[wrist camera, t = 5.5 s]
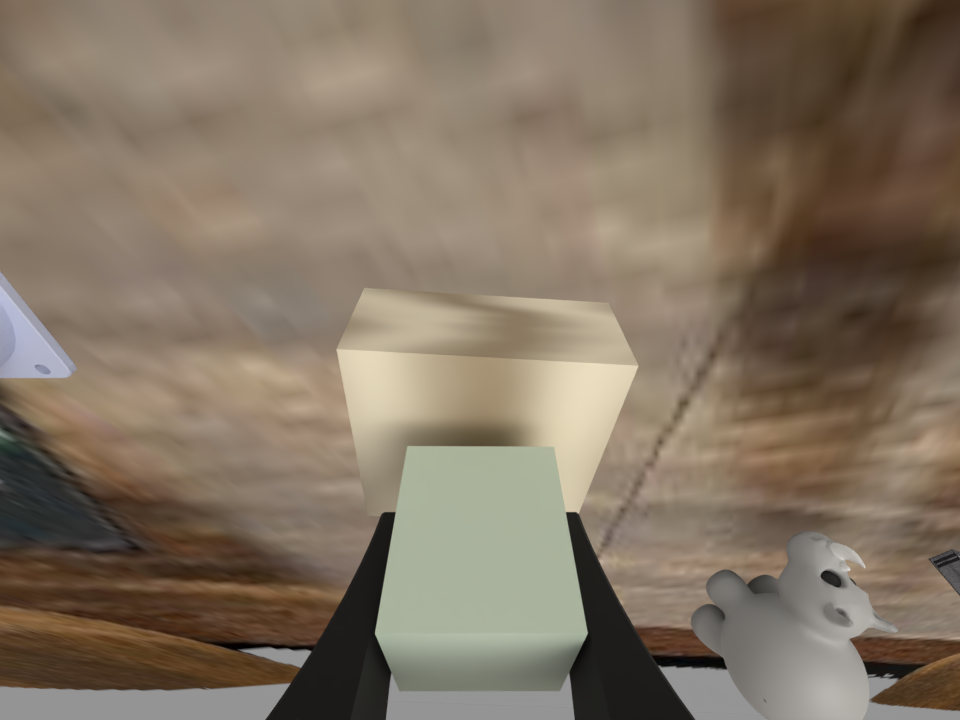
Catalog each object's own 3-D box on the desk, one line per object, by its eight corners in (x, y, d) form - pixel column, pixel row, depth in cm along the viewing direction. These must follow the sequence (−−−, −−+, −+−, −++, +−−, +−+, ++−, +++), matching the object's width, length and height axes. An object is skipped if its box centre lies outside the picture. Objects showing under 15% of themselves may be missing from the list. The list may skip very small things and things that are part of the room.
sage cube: (419, 523, 15) (399, 691, 11) (407, 446, 12) (374, 633, 9) (539, 524, 15) (559, 691, 11) (553, 446, 13) (587, 633, 9)
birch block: (384, 442, 21) (367, 515, 18) (366, 283, 15) (336, 349, 12) (560, 450, 21) (574, 523, 18) (606, 298, 15) (638, 365, 12)
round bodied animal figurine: (826, 504, 28) (984, 613, 20) (751, 635, 31) (863, 774, 23) (739, 489, 27) (872, 598, 19) (670, 627, 30) (759, 771, 22)
